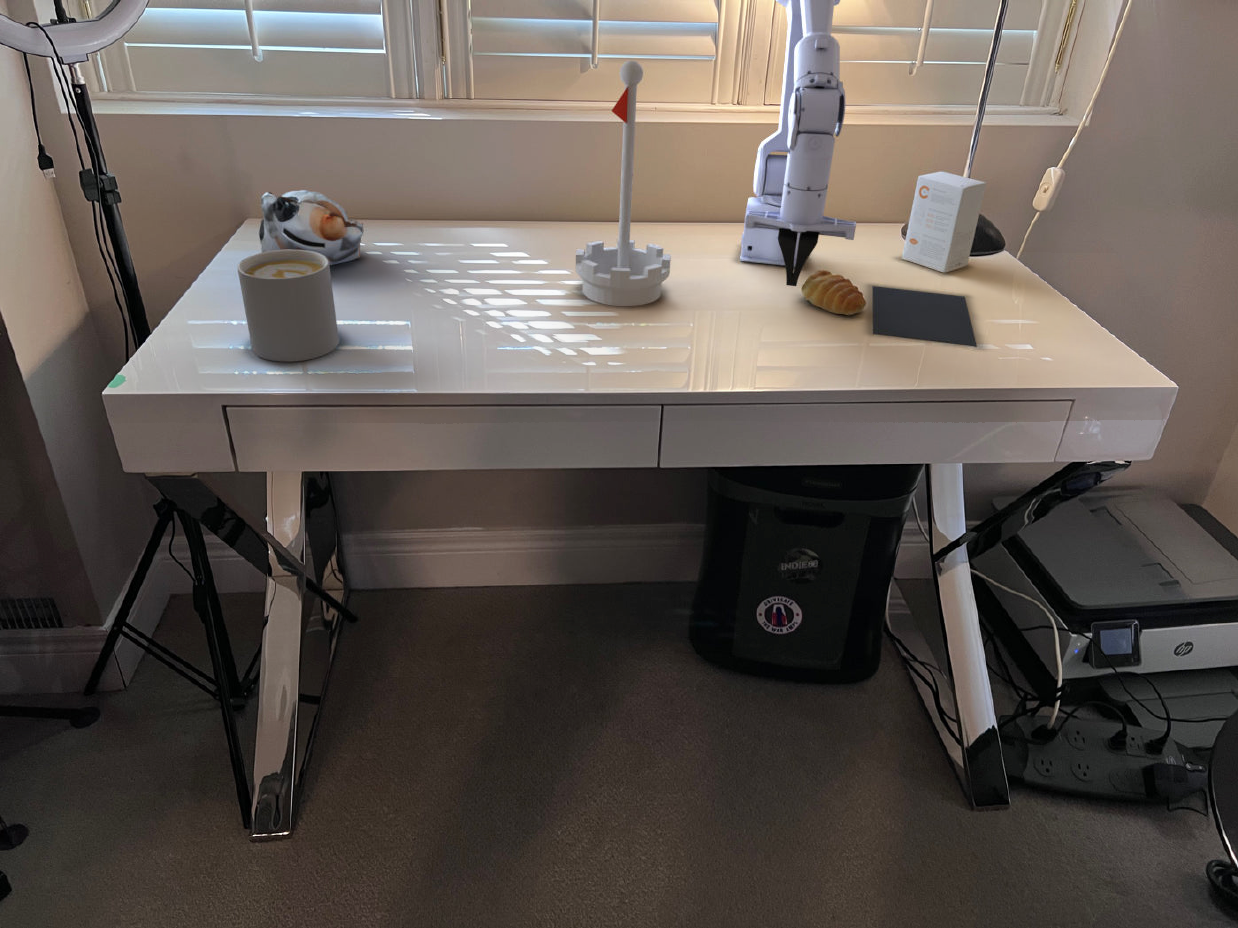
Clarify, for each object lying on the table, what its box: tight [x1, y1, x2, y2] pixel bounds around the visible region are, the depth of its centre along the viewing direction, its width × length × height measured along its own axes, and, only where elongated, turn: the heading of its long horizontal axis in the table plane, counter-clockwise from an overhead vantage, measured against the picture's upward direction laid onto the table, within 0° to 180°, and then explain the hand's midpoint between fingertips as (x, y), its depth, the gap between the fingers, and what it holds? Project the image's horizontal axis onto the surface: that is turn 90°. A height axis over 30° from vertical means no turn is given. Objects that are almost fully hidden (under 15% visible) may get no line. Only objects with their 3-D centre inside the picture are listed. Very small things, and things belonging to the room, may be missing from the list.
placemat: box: [872, 285, 978, 347], centre depth 128 cm, size 13×18×1 cm
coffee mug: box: [237, 249, 340, 363], centre depth 111 cm, size 13×10×10 cm
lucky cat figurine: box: [258, 189, 364, 266], centre depth 131 cm, size 15×12×14 cm
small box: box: [901, 170, 987, 274], centre depth 143 cm, size 8×6×13 cm
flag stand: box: [575, 60, 672, 307], centre depth 123 cm, size 13×13×30 cm
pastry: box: [800, 269, 867, 316], centre depth 128 cm, size 9×7×4 cm
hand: (791, 283), depth 130 cm, fingers closed
